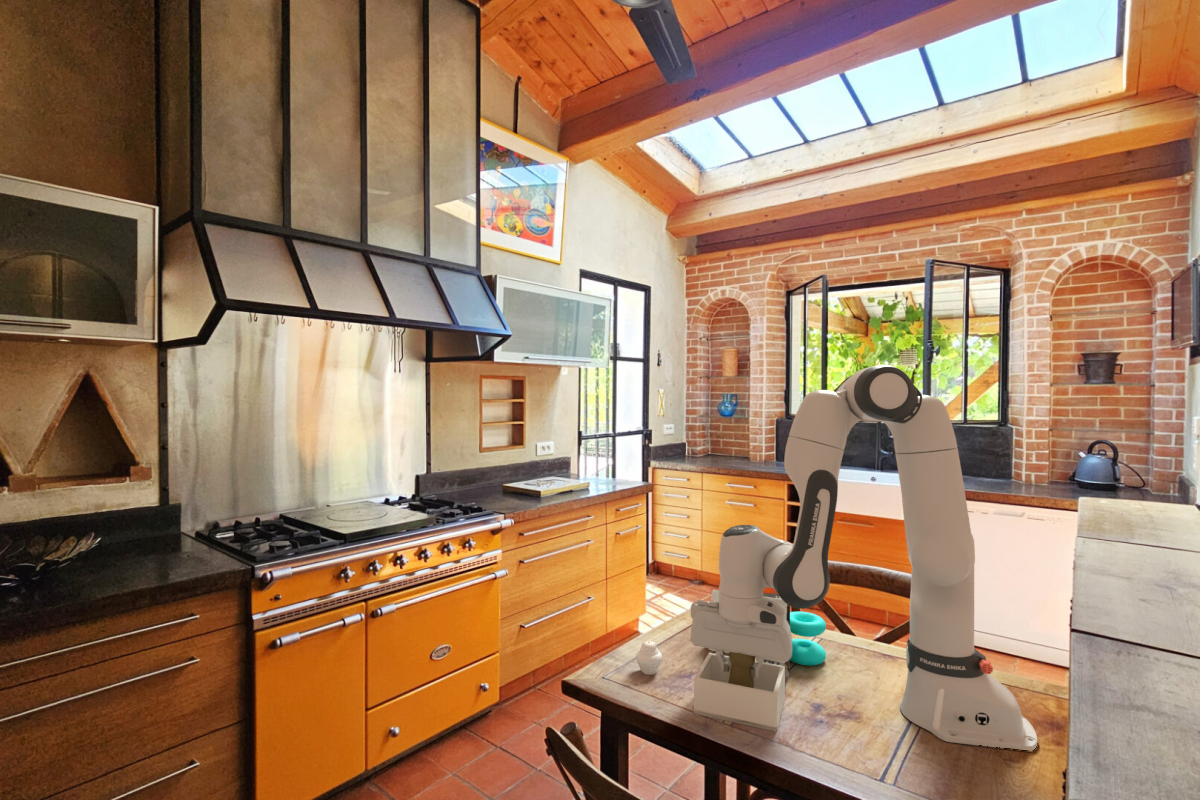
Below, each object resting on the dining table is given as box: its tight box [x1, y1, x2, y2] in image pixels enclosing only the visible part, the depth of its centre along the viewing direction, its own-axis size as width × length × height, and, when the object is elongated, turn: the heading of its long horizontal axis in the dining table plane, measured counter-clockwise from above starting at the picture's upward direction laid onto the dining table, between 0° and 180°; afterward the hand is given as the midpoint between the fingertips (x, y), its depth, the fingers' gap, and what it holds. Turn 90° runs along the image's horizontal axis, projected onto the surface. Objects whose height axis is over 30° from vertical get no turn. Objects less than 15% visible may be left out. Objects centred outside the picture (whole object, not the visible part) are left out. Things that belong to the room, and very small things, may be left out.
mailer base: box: [693, 652, 786, 733], centre depth 121 cm, size 16×13×7 cm
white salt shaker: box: [635, 640, 663, 676], centre depth 136 cm, size 6×6×7 cm
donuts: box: [790, 611, 827, 666], centre depth 143 cm, size 10×10×10 cm
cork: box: [728, 652, 756, 688], centre depth 121 cm, size 6×6×11 cm
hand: (740, 673), depth 121 cm, fingers open, 4 cm apart
